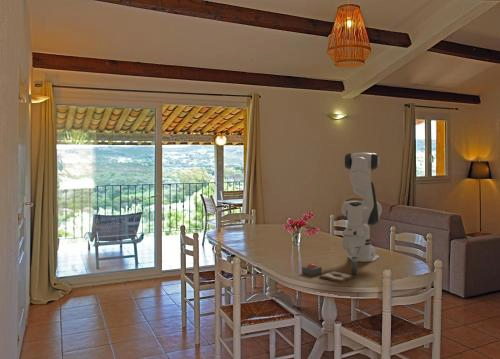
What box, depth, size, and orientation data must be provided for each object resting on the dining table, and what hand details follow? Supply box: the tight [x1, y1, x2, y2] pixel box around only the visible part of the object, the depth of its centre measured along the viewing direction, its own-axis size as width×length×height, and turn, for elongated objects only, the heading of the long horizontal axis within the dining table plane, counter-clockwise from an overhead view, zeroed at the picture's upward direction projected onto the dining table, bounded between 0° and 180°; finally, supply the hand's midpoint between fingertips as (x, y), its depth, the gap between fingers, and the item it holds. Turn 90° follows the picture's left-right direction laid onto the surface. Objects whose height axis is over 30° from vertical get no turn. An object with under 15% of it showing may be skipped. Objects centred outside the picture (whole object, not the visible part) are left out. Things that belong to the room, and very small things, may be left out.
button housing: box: [301, 265, 322, 277], centre depth 248 cm, size 8×8×4 cm
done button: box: [308, 263, 316, 268], centre depth 248 cm, size 4×4×3 cm
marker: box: [350, 257, 358, 277], centre depth 246 cm, size 3×3×10 cm
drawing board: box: [318, 270, 355, 284], centre depth 241 cm, size 14×14×2 cm
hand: (354, 254), depth 245 cm, fingers open, 8 cm apart
